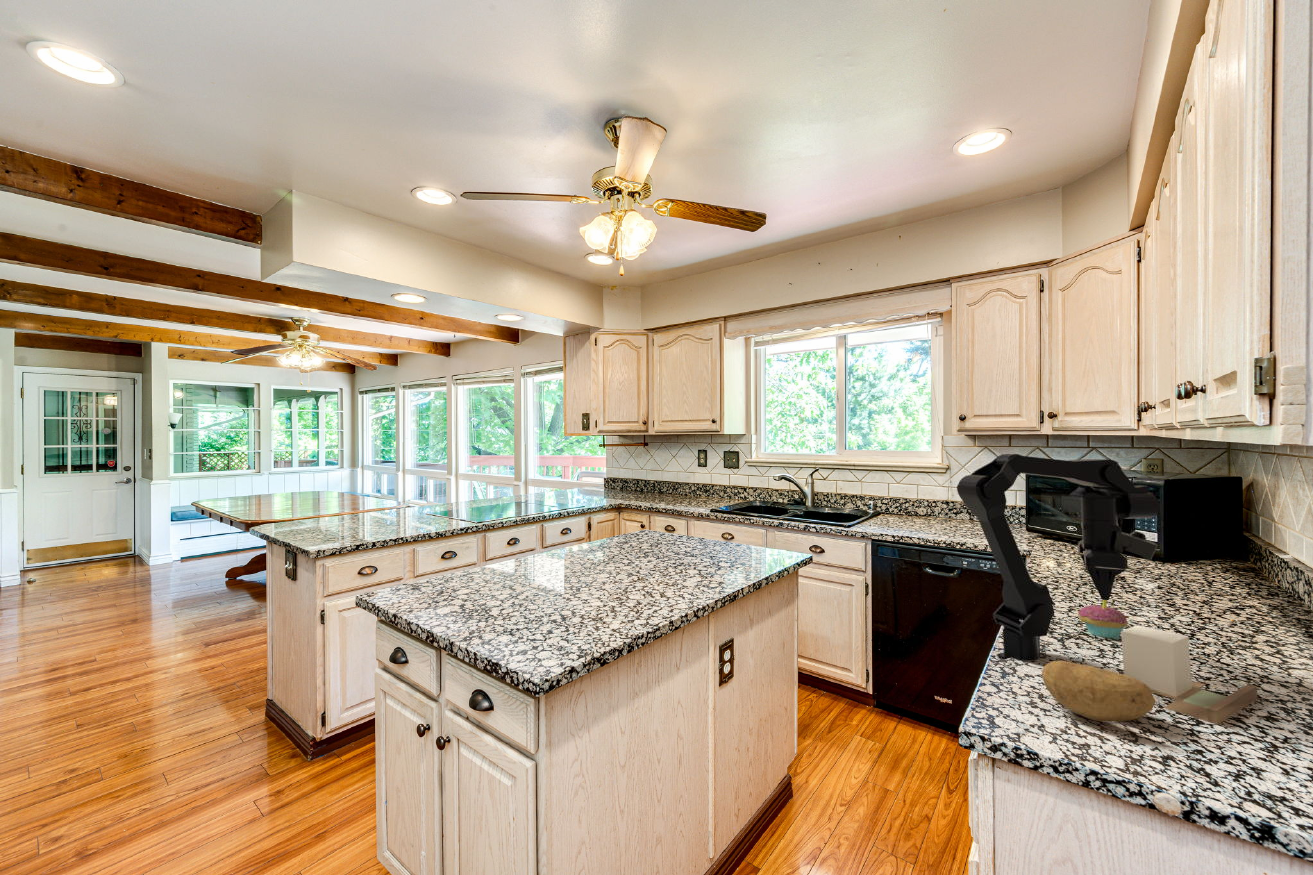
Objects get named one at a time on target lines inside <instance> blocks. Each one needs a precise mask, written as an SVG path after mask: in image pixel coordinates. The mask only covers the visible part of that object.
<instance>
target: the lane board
mask: <svg viewBox="0 0 1313 875" xmlns="http://www.w3.org/2000/svg"><path fill="white" fill-rule="evenodd" d="M1191 682H1192V689H1190V690H1188V691H1187V692H1185V693H1183V694H1181V695H1179V696H1177V697H1174V696H1171V695H1168V694H1164V693H1161V692H1158V691H1154V690H1151V689H1150V690H1151V693H1152V694H1153V693H1154V694H1156V695H1159V696H1163V697H1167V698H1169V699H1173V700H1174V701H1173V702H1171V703H1169V704H1167V705H1165V706H1164V707H1163V708H1164V709H1166V710H1170V711H1173V712H1175V713H1180V714H1183V715H1185V716H1189V717H1192V718H1195V719H1198V720H1201V721H1204V722H1207V723H1211V724H1214V725H1219V724H1220V723H1223V722H1225V721H1226V720H1227V719H1228V718H1230V717H1231V716H1234V715H1235V714H1236V713H1238V712H1240V711H1241V710H1243V709H1244V708H1246V707H1248V705H1250V704H1252V703H1254V702H1255V701H1257V700H1258V698H1259V697H1258V686H1257V685H1253V684H1249V683H1248V684H1246V685H1244V686H1242V687H1241V688H1239V689H1238V690H1235V691H1234V692H1232V693H1230V694H1229V695H1227V696H1226V695H1224V694H1223V695H1222V694H1220V693H1215V692H1212V691H1209V690H1204V689H1203V688H1202V687H1204V686H1206V683H1202V682H1199V681H1194V680H1192V679H1191ZM1201 688H1202V689H1201Z"/></svg>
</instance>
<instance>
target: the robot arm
mask: <svg viewBox="0 0 1313 875" xmlns="http://www.w3.org/2000/svg"><path fill="white" fill-rule="evenodd" d="M1021 474H1024V475H1032V476H1040V477H1041V476H1043V477H1051V478H1060V479H1064V480H1066V481H1069V482H1070V483H1075V484H1078V485H1079V486H1078V487H1077V488H1076V489H1075V490H1073V491H1072V492H1071V493H1070V494H1069V495H1070V497H1071V498H1080V505H1081V506H1080V507H1081V509H1080V510H1081V521H1080V527H1081V529H1082V532H1081V533H1082V534H1081V535H1082V539H1080V541H1078V542H1077V545H1078V546H1077V548H1078V549H1077V550H1078V552H1079V556H1080V558H1081V561H1082V562H1083V565H1084V566H1085V569H1086V572H1088V574H1089V576H1090V579H1091V581H1092V582H1093V585H1094V588H1095V589H1096V591H1097V593H1098V594H1099V596H1100V598H1101V600H1102V601H1103V600H1107V601H1110V597H1111V593H1112V590H1113V586H1114V582H1115V579H1116V578H1117V576H1118V575H1120V574H1122V573H1125V572H1126V570H1127V569H1128V568H1129V567H1128V566H1129V564H1128V558H1127V557H1126V556H1125V555H1123V554H1122V553H1124V551H1127V552H1129V553H1132V554H1135V555H1138V556H1141V557H1142V558H1144V559H1147V560H1150V561H1151V560H1152V559H1153V557H1154V554H1155V553H1156V550H1157V548H1158V546H1159V545H1158V544H1157V543H1156V542H1154V541H1151V540H1150V539H1149V540H1147V538H1146V534H1145V533H1144V532H1140V531H1137V530H1133V531H1132V532H1131V533H1127V532H1123V531H1122V530H1123V529H1122V527H1120V526H1119V523H1118V522H1119V519H1121V520H1122V519H1124V520H1125V519H1130V520H1131V519H1152V518H1155V517H1156V516H1157V515H1158V514H1159V512H1160V508H1161V505H1160V502H1159V501H1158V498H1157V496H1156V495H1154V493H1152V492H1150V487H1149V485H1134V483H1133V482H1132V481H1131V480H1130V479H1129V477H1128V476H1127V475H1126V473H1125V472H1124V471H1123V470H1122V468H1121V466H1120V464H1119V462H1118V461H1116V460H1115V459H1114V460H1113V459H1104V458H1103V459H1101V458H1100V459H1099V458H1095V459H1094V458H1082V459H1069V460H1068V459H1067V460H1065V459H1057V458H1055V459H1054V458H1049V457H1048V458H1046V457H1038V456H1030V455H1029V456H1028V455H1022V454H1020V453H1003V454H1000V455H998V456H996V457H995V458H994V459H993V460H992V461H990V462H988V463H987V464H985V465H983V466H981V467H980V468H977V469H975V471H972V473H971V474H968V475H964V476H963V477H962V478H961V479H959V482H958V484H957V486H956V490H957V494H958V496H959V498H960V499H961V501H962V502H963V504H964V505H965V507H966V508H967V509H968V510H969V511H970V512H971V513H972V514H973V515H974V516H975V517H976V519H977V520H978V522H979V525H980V526H981V529H982V533H983V534H984V537H985V538H986V539H985V540H986V541H987V544H988V546H989V549H990V552H991V554H992V557H993V558H994V561H995V564H996V565H997V568H998V570H999V573H1000V575H1001V579H1002V581H1003V586H1002V591H1001V595H1002V596H1001V597H1002V600H1003V602H1002V604H1000V606H999V607H998V608H997V609H996V610H995V611H994V612H993V613H992V617H993V619H994V621H995V624H997V625H1000V626H1002V627H1003V629H1002V637H1003V638H1002V640H1003V643H1002V644H1003V652H1000V653H997V654H996V656H997V657H998V658H1000V659H1003V660H1008V659H1013V660H1017V661H1020V662H1022V661H1027V662H1028V661H1029V662H1030V661H1031V662H1032V661H1038V660H1039V658H1040V656H1041V641H1040V640H1041V639H1040V637H1045V636H1048V633H1049V630H1050V629H1049V628H1050V626H1051V622H1052V618H1053V617H1054V616H1055V607H1054V606H1056V603H1055V601H1054V600H1053V599H1052V598H1051V595H1050V594H1051V592H1050V590H1049V587H1048V586H1047V585H1046V584H1044V583H1043V584H1042V583H1040V582H1036V581H1034V580H1033V579H1032V577H1031V576H1030V573H1029V571H1028V569H1027V566H1026V564H1025V561H1024V558H1023V556H1022V554H1021V551H1020V548H1019V547H1018V544H1017V542H1016V540H1015V537H1014V535H1013V532H1012V529H1011V527H1010V524H1009V522H1008V520H1007V518H1006V514H1005V513H1006V506H1007V498H1006V496H1007V495H1006V492H1007V491H1008V490H1009V489H1010V488H1011V487H1013V485H1014V484H1015V483H1016V481H1017V478H1018V476H1019V475H1021ZM1091 488H1092V489H1091ZM1021 620H1022V621H1021Z"/></svg>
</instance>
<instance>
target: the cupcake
mask: <svg viewBox="0 0 1313 875" xmlns="http://www.w3.org/2000/svg"><path fill="white" fill-rule="evenodd" d="M1107 601H1108V600H1102V604H1101V605H1100V604H1098V605H1097V604H1090V605H1086V606H1085V607H1082V608H1081V609H1079V610H1078V612H1077V616H1078V619H1079V621H1080V622H1082V623H1084V624H1085V626H1086V628H1087V631H1088V633H1089V634H1091V635H1093V636H1097V637H1100V638H1107V639H1108V638H1109V639H1115V640H1120V636H1121V631H1123V629H1125V627H1127V626H1128V620H1127V616H1126V615H1125V614H1124V613H1122V612H1121V611H1119V610H1118V609H1116V608H1114V607H1110V606H1109V607H1108V606H1107Z"/></svg>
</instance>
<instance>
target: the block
mask: <svg viewBox="0 0 1313 875" xmlns="http://www.w3.org/2000/svg"><path fill="white" fill-rule="evenodd" d="M1120 636H1121V647H1122V648H1121V650H1122V663H1123V674H1124V675H1128V676H1130V677H1132V678H1134V679H1137V680H1139V681H1141V682H1143V683H1145V684H1146V685H1147V686H1148V687H1149V688H1150V689H1151V690H1154V691H1158V692H1161V693H1164V694H1168V695H1171V696H1174V697H1177V696H1179V695H1181V694H1183V693H1185V692H1187V691H1188V690H1190V689H1192V682H1191V680H1192V671H1191V670H1192V668H1191V657H1190V642H1189V636H1188V635H1184V634H1179V633H1174V632H1170V631H1165V630H1161V629H1156V628H1151V627H1148V626H1142V625H1138V624H1137V625H1134V626H1131V627H1129V628H1126V629H1124V630H1122V631H1121V634H1120Z"/></svg>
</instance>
